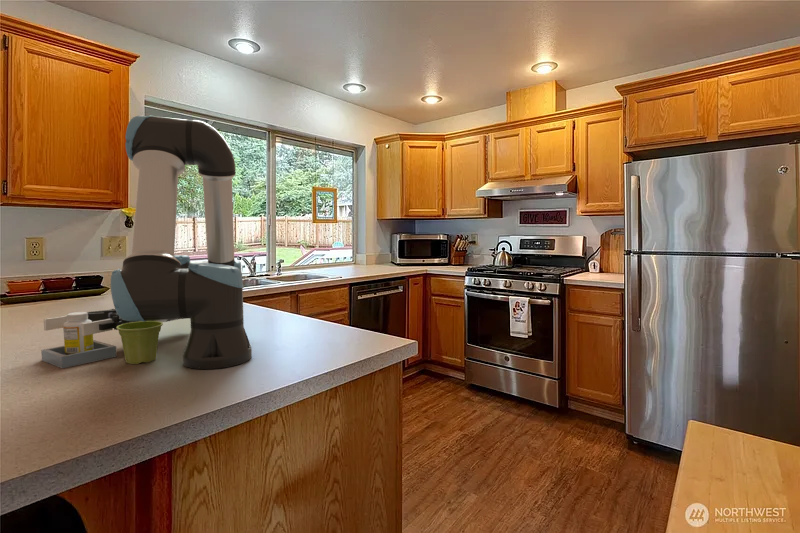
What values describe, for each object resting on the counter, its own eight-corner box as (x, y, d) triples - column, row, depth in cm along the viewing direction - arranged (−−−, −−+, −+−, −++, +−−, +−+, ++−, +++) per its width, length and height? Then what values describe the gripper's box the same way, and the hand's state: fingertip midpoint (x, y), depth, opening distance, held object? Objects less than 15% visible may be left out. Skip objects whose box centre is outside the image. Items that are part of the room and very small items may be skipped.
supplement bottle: (92, 350, 104) (90, 310, 103) (95, 355, 100) (93, 313, 99) (63, 354, 100) (61, 313, 99) (66, 360, 96) (63, 316, 95)
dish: (116, 356, 102) (116, 346, 102) (62, 368, 92) (61, 357, 92) (95, 350, 107) (94, 340, 107) (41, 360, 98) (41, 349, 98)
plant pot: (172, 355, 103) (171, 321, 102) (145, 367, 94) (144, 329, 93) (137, 354, 104) (136, 320, 103) (107, 365, 95) (106, 328, 94)
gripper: (181, 329, 112) (100, 348, 92) (117, 322, 121) (31, 338, 101) (180, 301, 111) (98, 315, 92) (116, 296, 120) (29, 307, 100)
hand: (62, 327), depth 96 cm, fingers open, 13 cm apart
